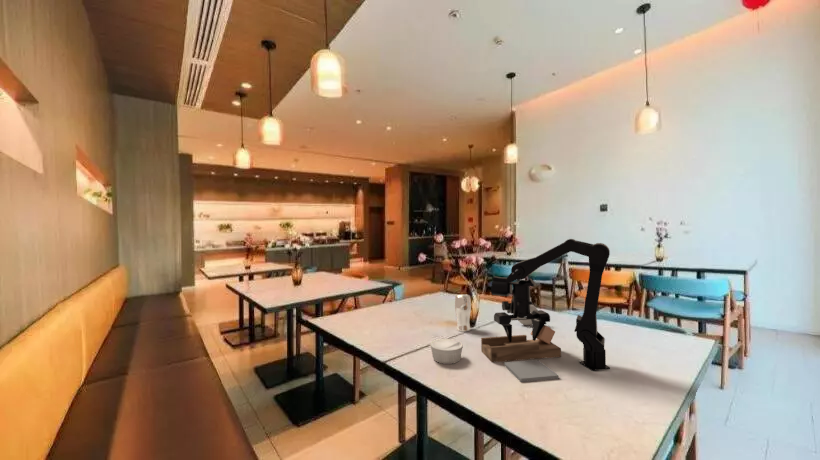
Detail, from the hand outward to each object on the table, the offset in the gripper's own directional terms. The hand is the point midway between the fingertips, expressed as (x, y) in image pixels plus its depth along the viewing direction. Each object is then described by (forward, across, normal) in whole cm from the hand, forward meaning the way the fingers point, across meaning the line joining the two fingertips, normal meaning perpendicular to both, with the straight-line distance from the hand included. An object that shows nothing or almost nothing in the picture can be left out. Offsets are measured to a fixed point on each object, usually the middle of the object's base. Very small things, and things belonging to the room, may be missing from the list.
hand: (522, 341), depth 120 cm
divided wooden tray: (+4, +1, 0) cm, 5 cm away
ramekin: (+5, +27, -1) cm, 28 cm away
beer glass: (+5, +12, -31) cm, 34 cm away
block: (0, -7, -1) cm, 7 cm away
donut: (+5, -18, -31) cm, 36 cm away
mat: (+4, +4, +14) cm, 15 cm away
